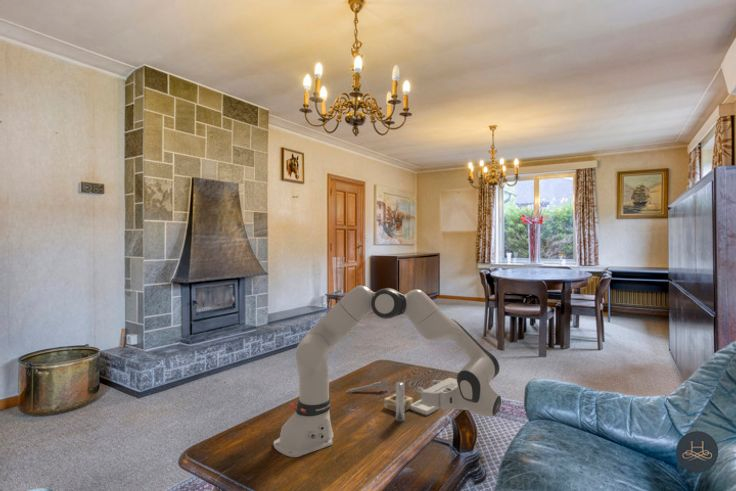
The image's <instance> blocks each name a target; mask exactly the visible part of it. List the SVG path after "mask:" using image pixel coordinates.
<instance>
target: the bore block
mask: <svg viewBox="0 0 736 491" xmlns="http://www.w3.org/2000/svg"><path fill="white" fill-rule="evenodd" d="M413 403H414V397H411V396H408V395H405V412H406V411H408V410H410V405H411V404H413ZM383 404H384V406H383V408H385V409H387V410H390V411H391V412H392V411H393V412H395V413H396V393H393V394H391V395H389V396H387V397H385V398H383Z"/></svg>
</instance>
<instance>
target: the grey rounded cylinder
mask: <svg viewBox="0 0 736 491" xmlns="http://www.w3.org/2000/svg"><path fill="white" fill-rule="evenodd" d="M405 385H406V384H405V382H403V381H396V382H395V394H396V412H395V421H396V422H399V423H401V422H405V419H406V417H405V413H406V411H405V396H406V395H405V393H406V392H405Z"/></svg>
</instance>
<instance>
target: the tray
mask: <svg viewBox="0 0 736 491" xmlns="http://www.w3.org/2000/svg"><path fill="white" fill-rule="evenodd" d="M439 409H440V407H435V406H432V405H429V404H426V403H424V402H423V401H422V400H421V399H419V400H417V401H415V402H413V404H411V405H410V409H409V410H411V411H413V412H415V413H418V414H421V415H423V416H426V417H427V416H429V415H430V414H432V413H434V412H437V411H438V410H439Z"/></svg>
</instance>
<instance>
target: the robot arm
mask: <svg viewBox="0 0 736 491" xmlns="http://www.w3.org/2000/svg"><path fill="white" fill-rule="evenodd" d="M372 312H373V313H374V315H376V316H377V317H379V318H380V319H383V320H389V319H393V318H395V317H398V316H401V315H403V316H405V317H406V318H407V319H408V320H409V321H410V322H411V324H412V325H413V326H414V328H415V329H416V331H417V332H418V333H419V335H421V336H422V338H424V339H426V340H429V341H441V340H447V339H448V340H451V341H453V342H454V343H456V344H457V346H459V347H460V349H461V350H462V351H464V353H465V354H466V355H467V356H468V357H469V361H468V362H467V363H466V364H465V365H464V366H463V367H462V368H461V369H460V371H459V372H458V373H457V375H456V378H453V377H448V378H445V379H443V380H435V379H433V380H431V381H430V384H431V386H429V387H428V388H426V389H424V386H423V387H422V386H418V387H417V388H416V392H417V393H419V394H420V395H421V396H420V398H421V399H420V400H422V401H423V402H424V403H426V404H429V405H432V406H435V407H439V408H440V410H442V411H450V410H453V409H455V410H456V409H460V410H462V411H463V410H465V411H469V412H470V413H472V414H474V415H479V416H481V417H482V416H483V417H494V416H496V415H497V414H498V412H499V411H500V408H501V405H502V397H501V395H500V394H498V393H496V391H494V389H493V388H492V387H491V384H490V383H491V381H493V379H495V378H496V377H497V375H498V374H499V373H500V370H501V369H500V364H499V361H498V359H497V358H496V357H495V355H494V354H492V353H491V352H490V351H489V350H487V349H485V348H484V347H483V346H482V345H481V344H480V343H479V342H478V341H477V340H476V339H475V338H474V337H473V336H472V335H471V334H470V332H468V331H467V330H466V329H465V328H464V326H462V325H461V324H460V323H459V322H458V321H456V320H455V319H452V318H450V317H448V316H447V315H446V314H445V313H444V312H442V310H441V309H440V308H439V306H438V305H437V304H436V303H435V301H433V299H431V297H429V296H428V295H427V294H426V292H424V291H423V290H421V289H417V288H416V289H412V290H409V291H408V292H407V293H404V294H403V293H401V292H400V291H398V290H396V289H394V288H391V287H386V288H380V289H379V290H377V291H375V292H374V291H373V290H371V289H370V288H369V287H367V286H365V285H357V286H355V287H353V288H352V289H351V290H350V291H349V292H347V293H346V294H345V295H344V296H342V297H341V298H340V299H339V300H338V301H337V303H335V304H334V305H333V307H332V308H331V309H330V310H328V312H327V313H326V314H325V315H324V316H323V317H322V318H321V319H320V320H319V321H318V322H317V323H316V324H315V325H314V326H313V327H312V328H311V329H310V330H309V331H308V332H307V333H306V334H305V335H304V336H303V337H302V339H301V340H300V342H298V344H297V347H296V351H295V359H296V365H297V366H296V367H297V373H298V378H299V379H298V384H299V390H298V391H299V398H298V400H297V403H295V402H290V405H289V407H290V409H292V410H294V411H295V412H294V413H292V415H291V416H290V417H289V418H288V419H287V421H286V422H285V423H284V424H283V425H282V427H281V428H280V433H279V437H278V438H277V439H275V440H274V441H273V448H274V449H275V450H276V451H278V453H280V454H281V455H284V456H287V457H290V458H298V457H302V456H304V455H307V454H310V453H312V452H315V451H316V452H317V451H318V450H322V449H324V448H327V447H330V446H332V445H333V438H334V431H333V427H332V423H331V415H330V409H331V398H330V377H329V370H328V354H329V353H330V351H331V350H332V349H333V348H335V346H336V345H337V344H339V343H340V342H341V341H343V339H344V338H346V337H347V336H348V335H349V334H350V333H351V332H352V331H353V330H354V328H356V326H358V325H359V323H360V322H362V320H363V319H364V318H365V317H366V316H367V315H368V314H370V313H372Z"/></svg>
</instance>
